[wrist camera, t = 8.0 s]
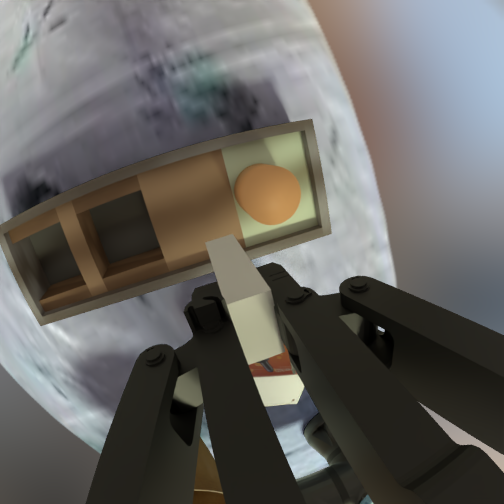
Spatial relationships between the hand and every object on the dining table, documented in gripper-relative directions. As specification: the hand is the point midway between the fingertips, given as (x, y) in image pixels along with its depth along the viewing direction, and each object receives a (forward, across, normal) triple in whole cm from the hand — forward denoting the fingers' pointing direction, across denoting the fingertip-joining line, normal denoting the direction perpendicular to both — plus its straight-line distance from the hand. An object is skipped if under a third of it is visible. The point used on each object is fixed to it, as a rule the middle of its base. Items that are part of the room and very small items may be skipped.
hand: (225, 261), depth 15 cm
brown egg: (+12, -6, -1) cm, 14 cm away
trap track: (+17, +5, -1) cm, 18 cm away
